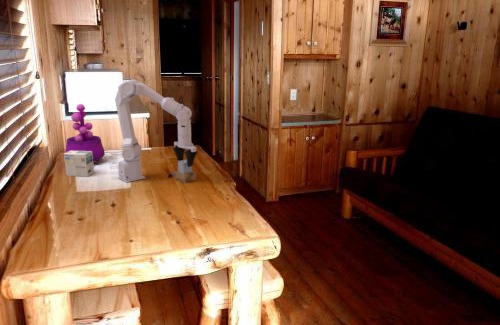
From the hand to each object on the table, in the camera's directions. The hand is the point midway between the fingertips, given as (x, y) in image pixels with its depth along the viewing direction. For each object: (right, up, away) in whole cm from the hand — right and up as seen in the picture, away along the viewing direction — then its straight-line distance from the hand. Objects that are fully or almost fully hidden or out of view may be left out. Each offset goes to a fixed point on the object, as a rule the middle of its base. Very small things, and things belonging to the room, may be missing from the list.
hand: (185, 164), depth 181 cm
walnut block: (0, -7, +2) cm, 8 cm away
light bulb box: (-50, -5, +7) cm, 51 cm away
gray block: (0, -3, +1) cm, 4 cm away
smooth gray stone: (-5, -5, +10) cm, 12 cm away
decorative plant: (-56, +1, +27) cm, 62 cm away
